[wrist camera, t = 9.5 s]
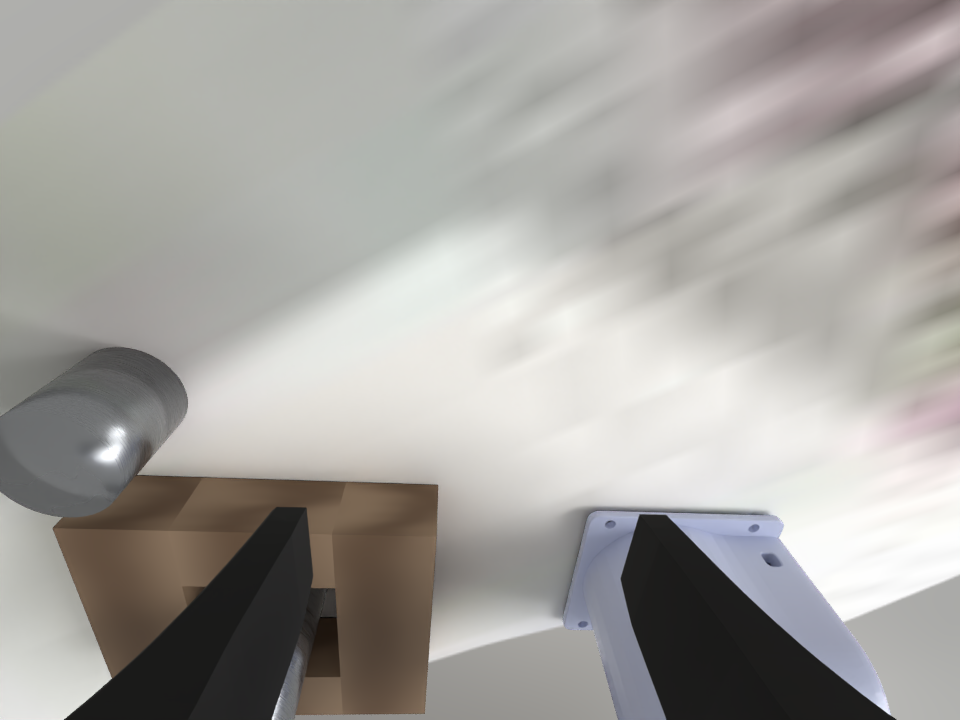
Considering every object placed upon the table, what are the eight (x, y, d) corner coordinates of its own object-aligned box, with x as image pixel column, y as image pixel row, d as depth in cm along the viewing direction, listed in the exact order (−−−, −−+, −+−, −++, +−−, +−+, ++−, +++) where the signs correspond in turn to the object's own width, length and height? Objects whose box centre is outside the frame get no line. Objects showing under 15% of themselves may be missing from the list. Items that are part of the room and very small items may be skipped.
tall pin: (330, 546, 24) (283, 721, 17) (328, 603, 25) (285, 782, 19) (242, 540, 23) (158, 717, 16) (246, 598, 25) (171, 780, 18)
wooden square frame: (438, 485, 22) (436, 536, 19) (426, 654, 28) (424, 713, 25) (103, 474, 21) (52, 528, 18) (159, 654, 26) (127, 716, 24)
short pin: (177, 350, 19) (103, 416, 15) (195, 438, 20) (133, 519, 16) (63, 344, 18) (-46, 411, 14) (92, 434, 20) (2, 515, 16)
